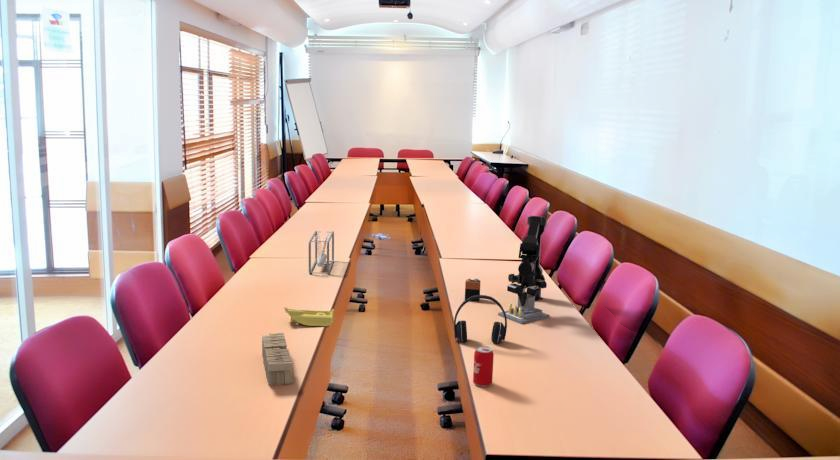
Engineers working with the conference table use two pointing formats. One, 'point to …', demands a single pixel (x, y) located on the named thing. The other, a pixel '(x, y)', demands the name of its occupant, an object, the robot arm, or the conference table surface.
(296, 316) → the plastic component
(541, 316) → the header socket
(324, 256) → the newton's cradle
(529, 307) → the plug
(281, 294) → the conference table surface
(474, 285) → the battery
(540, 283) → the robot arm
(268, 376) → the block tower
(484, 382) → the beverage can
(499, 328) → the headphones
